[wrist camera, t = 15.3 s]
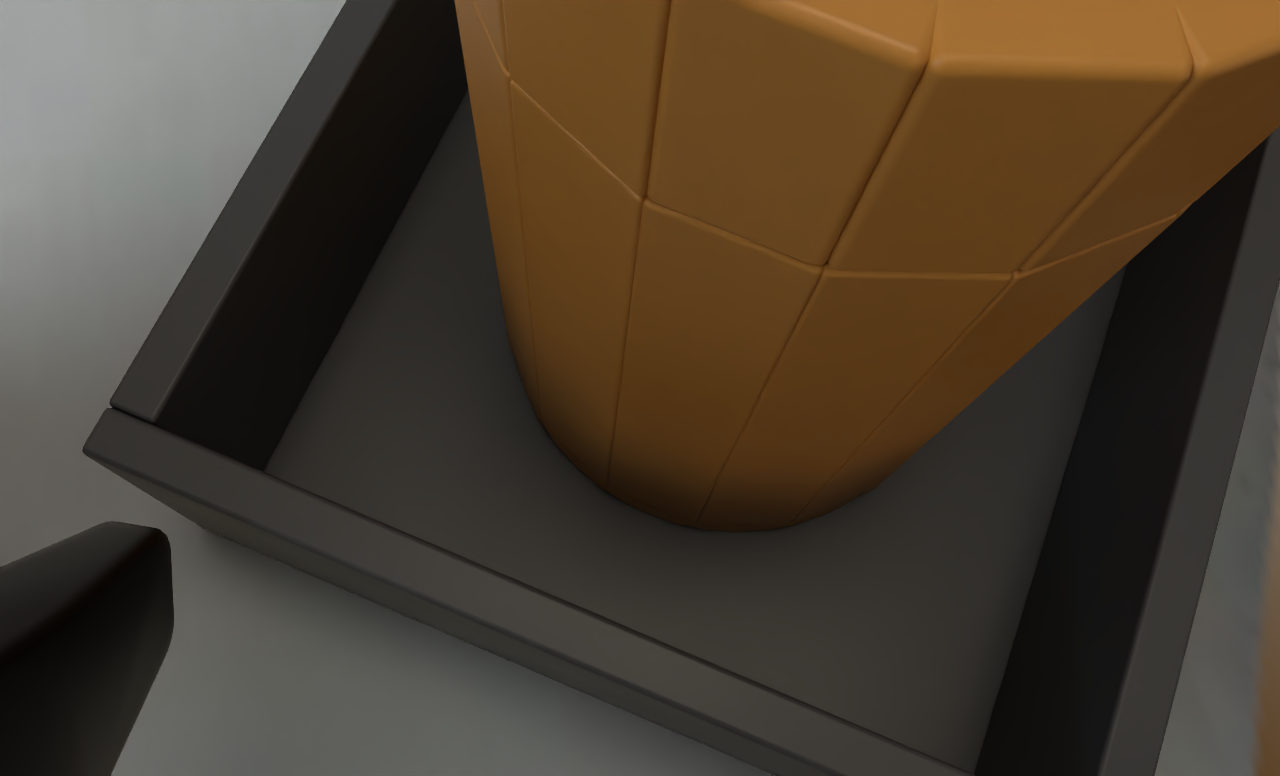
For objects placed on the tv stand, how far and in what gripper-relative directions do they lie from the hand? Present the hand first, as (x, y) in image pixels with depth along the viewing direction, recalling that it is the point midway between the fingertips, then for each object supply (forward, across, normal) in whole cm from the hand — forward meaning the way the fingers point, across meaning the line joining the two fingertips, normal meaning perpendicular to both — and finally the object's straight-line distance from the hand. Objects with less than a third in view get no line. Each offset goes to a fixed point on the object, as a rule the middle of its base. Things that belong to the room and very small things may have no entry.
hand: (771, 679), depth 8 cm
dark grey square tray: (+10, 0, +2) cm, 11 cm away
